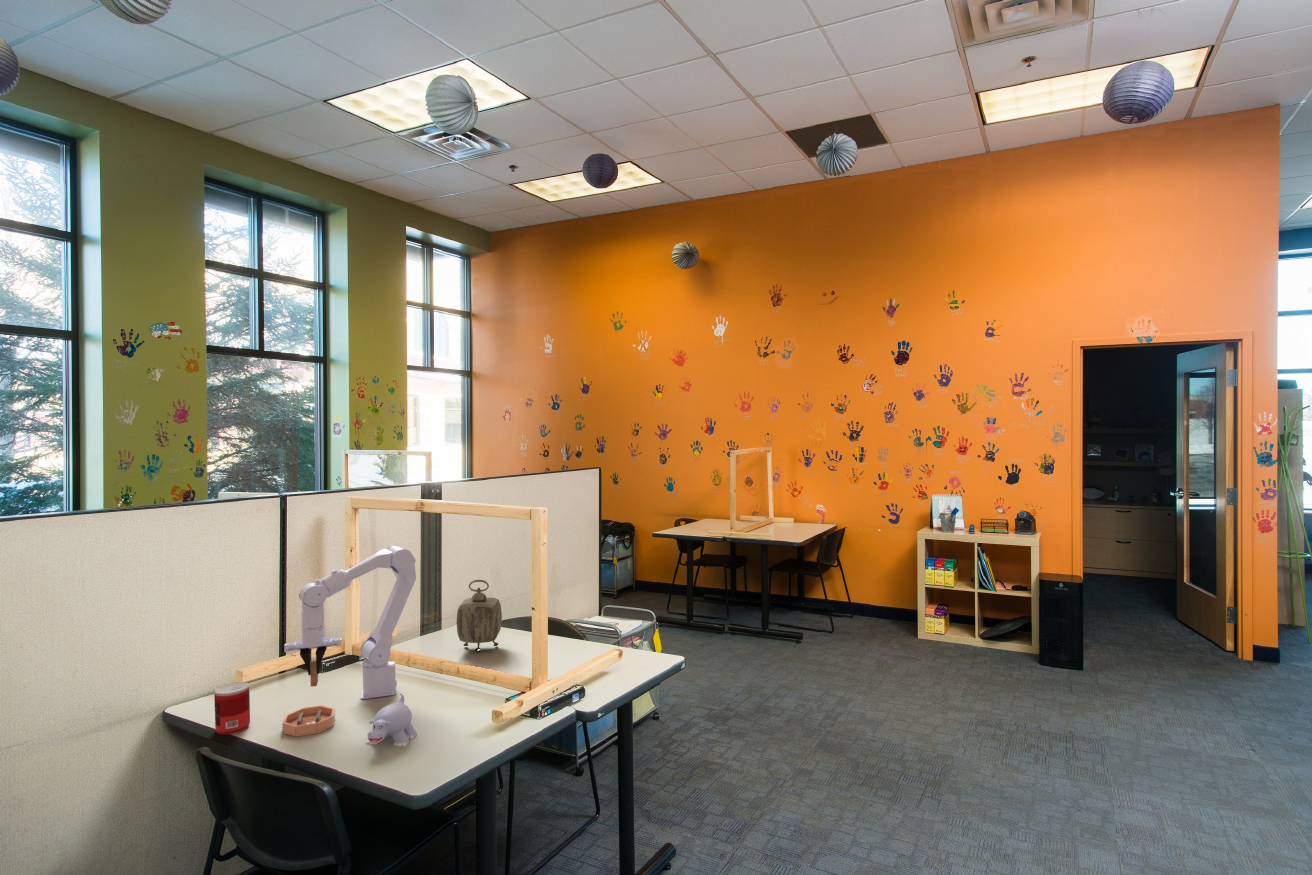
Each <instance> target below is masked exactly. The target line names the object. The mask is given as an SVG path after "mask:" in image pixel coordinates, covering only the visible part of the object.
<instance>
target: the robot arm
mask: <svg viewBox="0 0 1312 875" xmlns="http://www.w3.org/2000/svg"><path fill="white" fill-rule="evenodd" d="M416 562H417V561H416V558H415V556H414V554H413V553H412V552H411V551H410V550H409V549H407V548H403V547H402V546H400V545H397V544H392V545H389V546H386V548H382V549H380V550H379V551H377V552H376V553H374V554H372V555H369V557H367V558H365V559H364V560H362V561H360V562H358V563H357V564H355V565H353V566H352V567H350V568H348V569H347V570H344V569H341V568H340V569H337V570H336V569H332V570H331V572H330V574H328V575H326V576H324V577H322V578H316V579H315V580H314V582H309V583H307V584H304V586H302V588H301V589H300V591H299V594H298V598H299V600H301V640H298V641H292V642H288V643H284V645H283V646H284V653H289V652H292V651H299V656H300V658H301V659H302V661H303V663H304V665H305V667H306V670H307V675H308V676H310V661H311V659H312V650H313V649H316V650H315V657H316V670H317V674H318V675H320V671H321V665H322V662H323V658H324V655H325V653H326V652H327V648H330V647H338V648H339V647H342V645H343V644H342V643H343V641H342V640H343V639H342V637H325V609H324V603H325V602H326V599H327V598H330V597H332V596H334V595H336V594H337V593H339V592H341V591H343V590H345V589H347V588H349V587H350V585H351V584H352V581H353V580H355V579H358V578H360V577H362V576H363V575H365V574H368V573H370V572H372V571H375V570H377V569H391V570H392V572H393V573H394V575H395V578H396V580H395V582H394V585H393V587H392V589H391V592H390V594H389V596H388V599H387V601H386V603H385V605H384V607H383V610H382V612H381V615H380V617H379V619H378V622H377V623H376V626H375V628H374V629H373V630H371V632H370V633H369V635H368V637H367V638H366V639H365V640H364V641H362V643H361V646H360V648H359V649H360V650H359V651H360V655H361V656H362V658H363V662H362V688H361V696H360V699H361V700H366V699H372V698H373V699H375V698H380V697H388V696H395V695H396V690H397V689H396V688H397V684H398V682H397V681H398V680H397V679H396V674H397V673H396V661H390V658H391V654H392V653H391V648H392V645H393V634H394V632H395V629H396V627H397V625H398V621H400V617H401V615H402V612H403V610H404V608H405V606H406V604H407V601H408V599H409V598H410V595H411V592H412V589H413V587H414V585H415V582H416V579H417V571H416Z"/></svg>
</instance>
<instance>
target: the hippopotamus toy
mask: <svg viewBox="0 0 1312 875" xmlns="http://www.w3.org/2000/svg"><path fill="white" fill-rule="evenodd" d="M399 696H400V698H399V702H395V703H390V704H388V705H385V706H384V707H383V708H381V709H379V710H378V711H377V713H376V714H375V716H374V718H373V719H371V720H369V722H368V724H369V725H372V729H370V730H369V731H368V733H367V741H366V743H365V744H367V745H378V744H379V743H381V742H383V740H385V738H386V737H388V736H392V738H393V741H394V743H393V746H396V747H406V746H407V745H408V744H409V743H410V740H412V739H413V738H415V737H416V736H417V735H418V734H417V731H416V729H415V727H414V725H413V724H412V719H413V715H412V711H411V709H410V708H409V706H408V705H407V704H405V696H404V694H403V693H399Z"/></svg>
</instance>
